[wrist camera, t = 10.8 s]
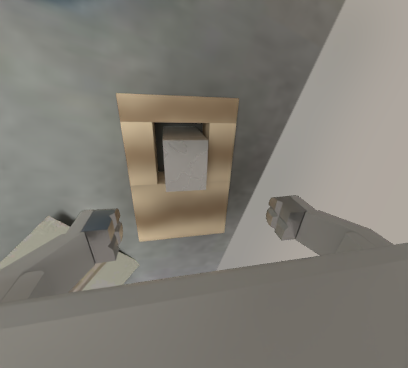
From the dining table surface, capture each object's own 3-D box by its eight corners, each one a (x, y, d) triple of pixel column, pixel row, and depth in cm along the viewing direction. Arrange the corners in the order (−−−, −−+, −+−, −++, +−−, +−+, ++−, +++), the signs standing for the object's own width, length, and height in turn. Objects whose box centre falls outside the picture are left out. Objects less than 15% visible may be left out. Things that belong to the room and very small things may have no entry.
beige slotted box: (36, 204, 28) (-76, 312, 21) (46, 212, 22) (-104, 365, 15) (119, 249, 37) (62, 332, 31) (141, 262, 32) (76, 368, 25)
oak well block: (124, 93, 20) (115, 93, 16) (227, 97, 22) (238, 98, 19) (142, 223, 28) (139, 241, 24) (217, 216, 30) (224, 232, 27)
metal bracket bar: (163, 126, 22) (162, 140, 15) (195, 126, 23) (208, 140, 16) (165, 164, 25) (165, 192, 17) (194, 163, 25) (206, 189, 18)
